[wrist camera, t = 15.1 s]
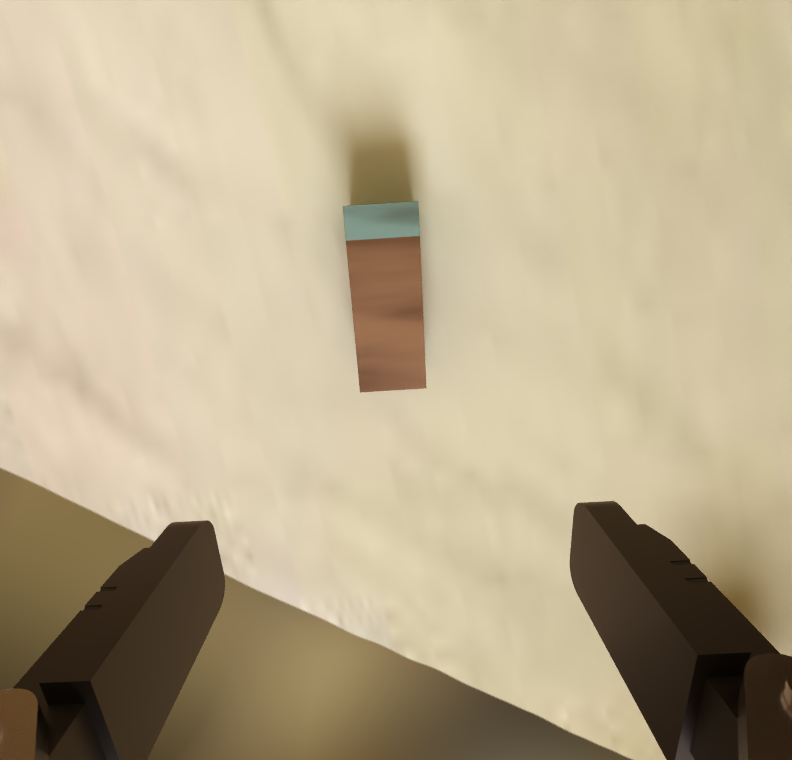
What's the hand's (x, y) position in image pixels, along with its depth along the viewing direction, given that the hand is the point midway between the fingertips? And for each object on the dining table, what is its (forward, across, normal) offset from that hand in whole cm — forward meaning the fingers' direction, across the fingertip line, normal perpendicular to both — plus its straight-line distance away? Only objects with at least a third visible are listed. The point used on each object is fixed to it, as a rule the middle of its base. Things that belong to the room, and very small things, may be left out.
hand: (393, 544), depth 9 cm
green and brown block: (+22, 0, +3) cm, 22 cm away
